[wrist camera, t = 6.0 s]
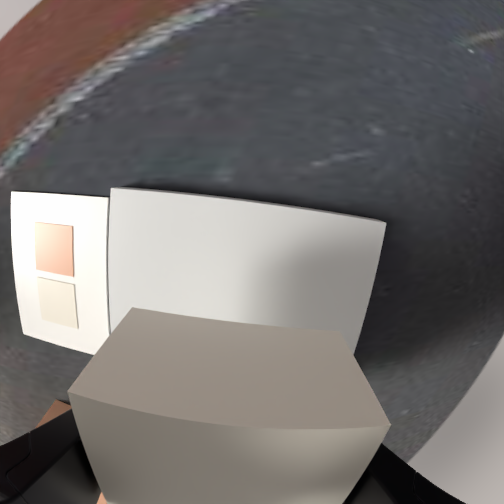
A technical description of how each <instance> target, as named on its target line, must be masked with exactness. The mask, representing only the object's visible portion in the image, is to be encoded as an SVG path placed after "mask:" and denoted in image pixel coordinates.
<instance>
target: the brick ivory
mask: <svg viewBox="0 0 504 504" xmlns="http://www.w3.org/2000/svg"><path fill="white" fill-rule="evenodd" d="M67 392H68V396H69V400H70V403H71V407H72V411H73V414H74V418H75V421H76V424H77V427H78V431H79V434H80V437H81V440H82V443H83V446H84V448H85V451H86V454H87V457H88V459H89V462H90V465H91V467H92V470H93V472H94V475H95V477H96V480H97V482H98V484H99V487H100V489H101V491H102V494H103V496H104V498H105V500H106V502H107V504H342V503H343V502H344V501H345V499H346V498H347V496H348V495H349V494H350V492H351V491H352V489H353V488H354V486H355V485H356V483H357V482H358V480H359V479H360V477H361V476H362V474H363V472H364V471H365V469H366V468H367V466H368V464H369V463H370V461H371V460H372V458H373V456H374V455H375V453H376V451H377V449H378V448H379V446H380V444H381V442H382V441H383V439H384V437H385V435H386V433H387V431H388V430H389V428H390V426H391V424H390V422H389V420H388V418H387V417H386V415H385V413H384V411H383V409H382V407H381V405H380V403H379V401H378V400H377V398H376V396H375V394H374V392H373V390H372V388H371V386H370V385H369V383H368V381H367V379H366V377H365V375H364V374H363V372H362V370H361V368H360V366H359V364H358V363H357V361H356V359H355V357H354V355H353V354H352V352H351V350H350V348H349V346H348V345H347V343H346V341H345V339H344V338H343V336H342V334H341V332H340V331H330V330H315V329H302V328H290V327H279V326H268V325H258V324H249V323H240V322H231V321H223V320H215V319H207V318H200V317H192V316H185V315H179V314H172V313H165V312H159V311H153V310H147V309H141V308H135V307H132V308H131V309H130V310H129V312H128V313H127V314H126V315H125V317H124V318H123V319H122V320H121V322H120V323H119V324H118V325H117V327H116V328H115V329H114V330H113V332H112V333H111V334H110V336H109V337H108V338H107V339H106V341H105V342H104V343H103V345H102V346H101V347H100V348H99V350H98V351H97V352H96V354H95V355H94V356H93V358H92V359H91V360H90V362H89V363H88V364H87V366H86V367H85V368H84V370H83V371H82V372H81V374H80V375H79V376H78V378H77V379H76V380H75V382H74V383H73V384H72V386H71V387H70V389H69V390H68V391H67Z"/></svg>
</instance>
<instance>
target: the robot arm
mask: <svg viewBox="0 0 504 504" xmlns="http://www.w3.org/2000/svg"><path fill="white" fill-rule="evenodd" d="M101 492H102V491H101V489H100V487H99V484H98V482H97V480H96V477H95V475H94V472H93V470H92V467H91V465H90V462H89V459H88V457H87V454H86V451H85V448H84V446H83V443H82V440H81V437H80V434H79V431H78V427H77V424H76V421H75V418H74V414H73V411H72V408H71V409H69V410H68V411H66V412H64V413H62V414H61V415H59V416H57V417H55V418H54V419H52V420H50V421H48V422H46V423H45V424H43V425H41V426H39V427H37V428H35V429H34V430H32V431H30V433H29V432H28V433H26V434H24V435H22V436H21V437H19V438H17V439H15V440H12V441H10V442H8V443H6V444H4V445H1V446H0V504H97V502H98V499H99V497H100V494H101ZM342 504H466V503H464V502H462V501H460V500H459V499H457V498H455V497H453V496H452V495H450V494H448V493H446V492H445V491H443V490H442V489H440V488H439V487H437V486H436V485H434V484H433V483H431V482H430V481H429V480H427V479H426V478H425V477H423V476H422V475H421V474H419V473H418V472H416V471H415V470H414V469H413V468H412V467H410V466H409V465H408V464H407V463H405V462H404V461H403V460H402V459H400V458H399V457H398V456H397V455H395V454H394V453H393V452H392V451H391V450H389V449H388V448H387V447H386V446H384V445H383V444H382V443H381V444H380V446H379V448H378V449H377V451H376V453H375V455H374V456H373V458H372V460H371V461H370V463H369V464H368V466H367V468H366V469H365V471H364V472H363V474H362V476H361V477H360V479H359V480H358V482H357V483H356V485H355V486H354V488H353V489H352V491H351V492H350V494H349V495H348V496H347V498H346V499H345V501H344V502H343V503H342Z"/></svg>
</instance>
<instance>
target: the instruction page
mask: <svg viewBox="0 0 504 504" xmlns="http://www.w3.org/2000/svg"><path fill="white" fill-rule="evenodd" d="M108 215H109V198H108V197H95V196H82V195H68V194H53V193H36V192H16V191H12V192H11V235H12V254H13V266H14V276H15V285H16V293H17V300H18V307H19V313H20V319H21V324H22V329H23V334H26V335H28V336H31V337H35V338H38V339H41V340H44V341H47V342H50V343H54V344H57V345H60V346H64V347H67V348H71V349H74V350H78V351H82V352H86V353H89V354H93V355H95V354H96V352H97V351H98V350H99V348H100V347H101V346H102V345H103V343H104V342H105V341H106V339H107V338H108V337H109V336H110V324H109V307H108V277H107V245H108Z"/></svg>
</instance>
